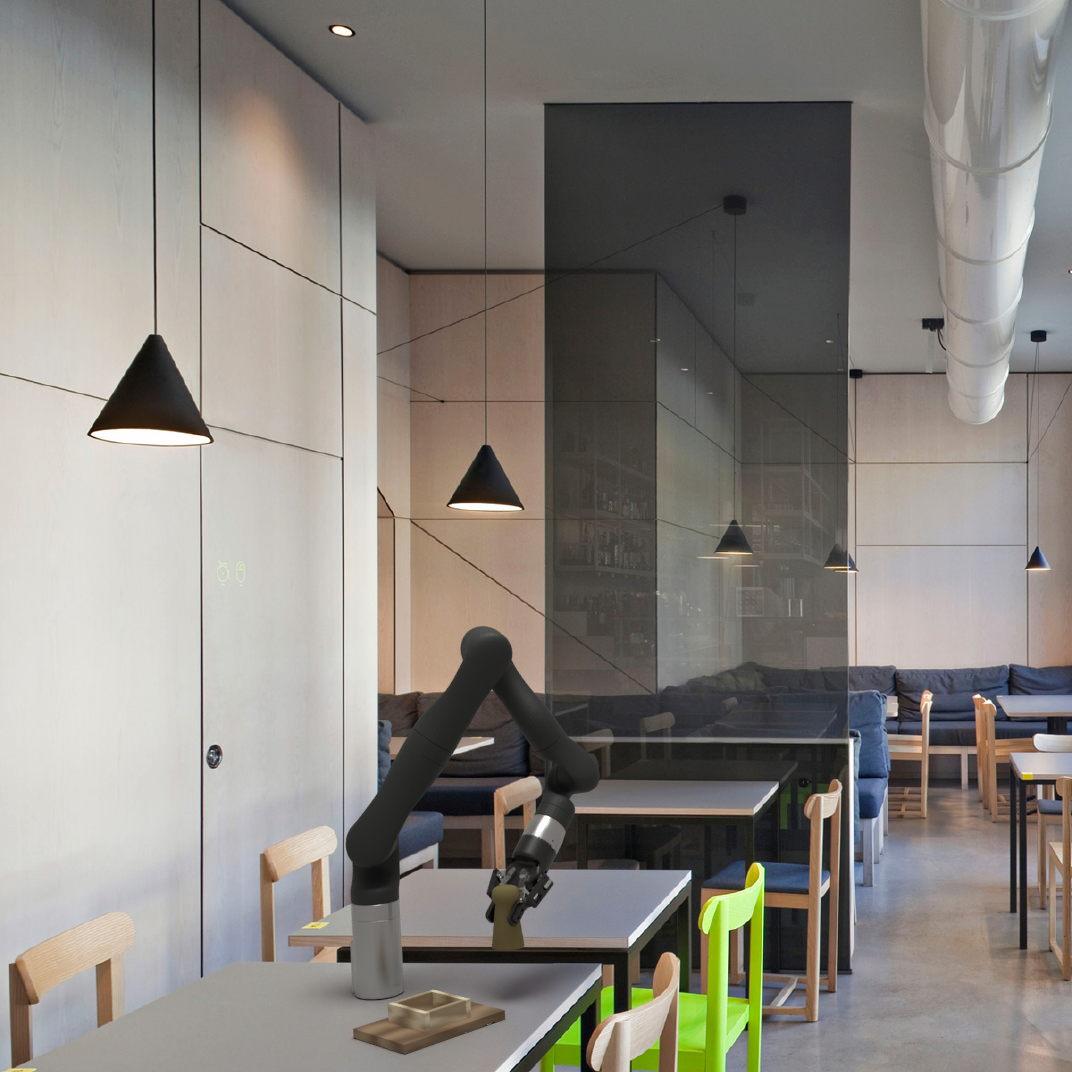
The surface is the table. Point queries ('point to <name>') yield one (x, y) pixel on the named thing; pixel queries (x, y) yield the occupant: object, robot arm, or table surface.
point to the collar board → (426, 1021)
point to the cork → (505, 919)
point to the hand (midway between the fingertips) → (500, 921)
